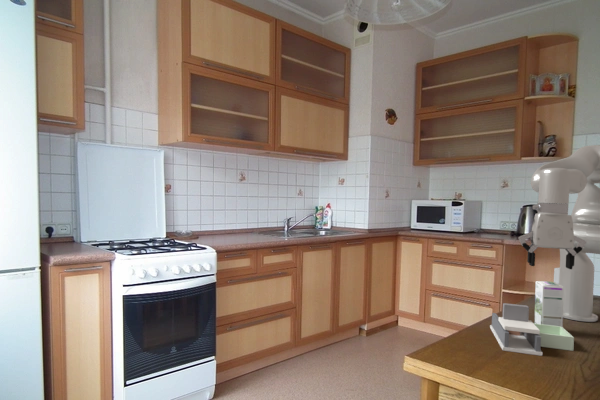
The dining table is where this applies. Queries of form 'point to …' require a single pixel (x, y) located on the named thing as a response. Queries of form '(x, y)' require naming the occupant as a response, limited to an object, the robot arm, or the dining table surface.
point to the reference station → (516, 339)
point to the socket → (555, 337)
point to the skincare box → (556, 275)
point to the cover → (517, 319)
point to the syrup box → (548, 303)
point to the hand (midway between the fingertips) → (550, 266)
